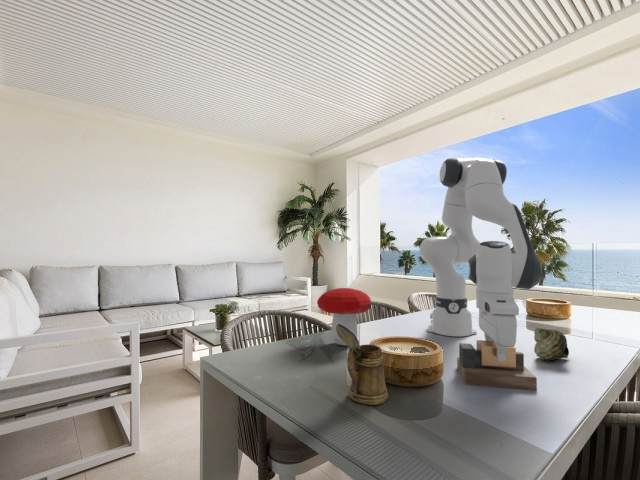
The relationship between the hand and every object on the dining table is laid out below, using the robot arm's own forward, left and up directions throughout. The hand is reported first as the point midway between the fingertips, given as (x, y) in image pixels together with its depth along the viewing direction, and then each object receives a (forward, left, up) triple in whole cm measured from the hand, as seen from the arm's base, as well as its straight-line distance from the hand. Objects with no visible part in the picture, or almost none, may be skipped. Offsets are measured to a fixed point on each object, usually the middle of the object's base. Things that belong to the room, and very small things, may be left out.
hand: (495, 354), depth 89 cm
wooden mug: (+20, -33, -6) cm, 40 cm away
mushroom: (-22, -43, -6) cm, 49 cm away
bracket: (0, 0, -6) cm, 6 cm away
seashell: (-19, +22, -6) cm, 29 cm away
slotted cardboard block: (0, 0, -2) cm, 2 cm away
